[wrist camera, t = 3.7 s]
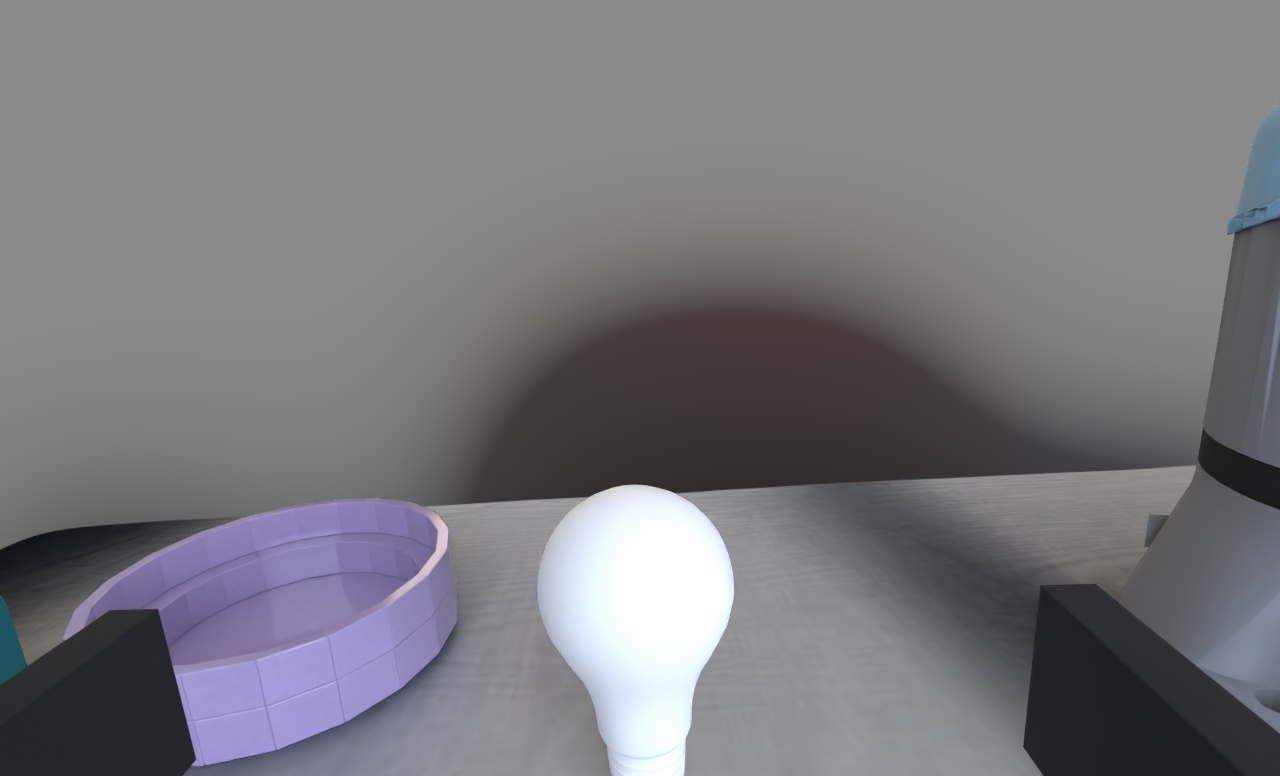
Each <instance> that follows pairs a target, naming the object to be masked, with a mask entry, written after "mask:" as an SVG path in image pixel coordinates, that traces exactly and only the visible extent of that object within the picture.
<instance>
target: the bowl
mask: <svg viewBox="0 0 1280 776" xmlns="http://www.w3.org/2000/svg"><path fill="white" fill-rule="evenodd" d="M458 600H459V594H458V587H457V579H456V572H455V565H454V558H453V550H452V543H451V536H450V530H449V527H448V526H447V525H446V524H445V522H444V521H443V520H442V519H441V517H440V516H439V515H438V514H437V513H436V512H435V511H432V510H430V509H427V508H425V507H423V506H420V505H418V504H415V503H412V502H406V501H399V500H391V499H384V498H367V499H366V498H364V499H336V500H329V501H322V502H315V503H308V504H300V505H295V506H290V507H286V508H282V509H278V510H273V511H269V512H265V513H261V514H257V515H252V516H248V517H244V518H241V519H238V520H235V521H232V522H229V523H226V524H223V525H221V526H218V527H215V528H212V529H209V530H206V531H203V532H200V533H198V534H195V535H193V536H190V537H188V538H186V539H184V540H181V541H179V542H177V543H175V544H172V545H170V546H168V547H166V548H164V549H161V550H159V551H157V552H155V553H152V554H150V555H148V556H147V557H145V558H143V559H142V560H140V561H138V562H137V563H135V564H133V565H132V566H130V567H129V568H127V569H125V570H124V571H122V572H120V573H119V574H117V575H115V576H114V577H112V578H110V579H109V580H107V581H105V582H104V583H103V584H102V585H101V586H100V587H99V588H98V589H97V590H96V591H95V592H94V593H92V594H91V595H90V596H89V597H88V598H87V599H86V600H85V601H84V602H83V603H82V604H81V605H79V606H78V607H77V608H76V609H75V611H74V613H73V615H72V618H71V620H70V622H69V624H68V627H67V629H66V631H65V634H64V636H63V642H64V641H65V640H67V639H68V638H70V637H71V636H73V635H74V634H76V633H77V632H78V631H80V630H81V629H83V628H84V627H86V626H87V625H89V624H90V623H92V622H93V621H95V620H96V619H97V618H99V617H100V616H102V615H103V614H105V613H106V612H108V611H109V610H130V609H158V610H159V614H160V618H161V622H162V626H163V630H164V634H165V638H166V642H167V646H168V649H169V653H170V657H171V661H172V665H173V669H174V673H175V677H176V681H177V685H178V689H179V693H180V697H181V701H182V705H183V709H184V712H185V716H186V720H187V724H188V728H189V732H190V736H191V740H192V744H193V748H194V752H195V756H196V761H195V762H194V763H193V764H192V765H191V766H204V765H211V764H216V763H220V762H225V761H230V760H234V759H239V758H243V757H248V756H253V755H257V754H262V753H266V752H271V751H274V750H276V749H277V750H279V749H281V748H284V747H286V746H288V745H291V744H293V743H296V742H298V741H301V740H303V739H306V738H308V737H311V736H313V735H316V734H318V733H321V732H323V731H326V730H328V729H330V728H333V727H335V726H338V725H340V724H343V723H344V722H347V721H349V720H350V719H352V718H354V717H355V716H357V715H359V714H360V713H362V712H363V711H365V710H367V709H368V708H370V707H372V706H373V705H375V704H376V703H378V702H380V701H381V700H383V699H385V698H386V697H388V696H389V695H391V694H393V693H394V692H396V691H398V690H399V689H400V688H402V687H403V686H405V685H406V684H407V683H408V682H409V681H410V680H411V679H412V678H413V677H414V676H415V675H416V674H417V673H418V672H419V671H421V670H422V669H423V668H424V667H425V666H426V665H427V664H428V663H429V662H430V661H431V660H432V659H433V658H434V657H435V656H437V655H438V653H439V652H440V650H441V649H442V647H443V645H444V643H445V642H446V640H447V638H448V636H449V635H450V633H451V631H452V630H453V628H454V626H455V624H456V623H457V620H458Z"/></svg>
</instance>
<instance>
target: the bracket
mask: <svg viewBox="0 0 1280 776" xmlns="http://www.w3.org/2000/svg"><path fill="white" fill-rule="evenodd" d="M26 667H27V664H26V661H25V658H24V655H23V652H22V649H21V646H20V643H19V640H18V637H17V634H16V631H15V628H14V625H13V622H12V619H11V616H10V613H9V610H8V608H7V605H6V603H5V601H4V600H3V598H2V597H1V595H0V685H1V684H2V683H4V682H5V681H7V680H8V679H10V678H11V677H13V676H14V675H16V674H17V673H18V672H20V671H21V670H23V669H24V668H26Z"/></svg>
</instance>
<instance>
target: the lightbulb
mask: <svg viewBox="0 0 1280 776" xmlns="http://www.w3.org/2000/svg"><path fill="white" fill-rule="evenodd" d="M733 597H734V578H733V571H732V566H731V562H730V558H729V554H728V551H727V549H726V547H725V544H724V542H723V540H722V538H721V536H720V534H719V532H718V531H717V529H716V528H715V527H714V525H713V524H712V523H711V521H710V520H709V519H708V518H707V517H706V516H705V515H704V514H703V513H702V512H701V511H700V510H699V509H698V508H697V507H695V506H694V505H693V504H692V503H691V502H689V501H688V500H686V499H684V498H682V497H680V496H678V495H676V494H674V493H672V492H669V491H667V490H664V489H660V488H655V487H651V486H645V485H625V486H619V487H614V488H610V489H608V490H605V491H602V492H600V493H597V494H595V495H593V496H591V497H589V498H587V499H586V500H584V501H583V502H581V503H580V504H578V505H577V506H576V507H574V508H573V509H572V510H570V511H569V513H568V514H567V515H566V516H565V517H564V519H563V520H562V521H561V522H560V523H559V525H558V526H557V527H556V528H555V530H554V532H553V533H552V535H551V537H550V539H549V540H548V542H547V544H546V547H545V549H544V552H543V555H542V558H541V562H540V565H539V572H538V581H537V598H538V607H539V611H540V614H541V617H542V620H543V623H544V625H545V628H546V631H547V633H548V636H549V638H550V640H551V641H552V642H553V644H554V645H555V647H556V648H557V649H558V651H559V652H560V654H561V655H562V656H563V658H564V659H565V661H566V662H567V663H568V665H569V666H570V667H571V669H572V670H573V671H574V672H575V673H576V674H577V675H578V676H579V677H580V679H581V680H582V681H583V683H584V685H585V686H586V688H587V690H588V692H589V694H590V696H591V699H592V702H593V705H594V708H595V713H596V719H597V725H598V730H599V732H600V735H601V737H602V739H603V740H604V742H605V743H606V745H607V755H608V759H609V767H610V770H611V776H684V768H685V744H686V743H685V738H686V736H687V734H688V732H689V729H690V725H691V719H692V700H693V694H694V689H695V685H696V682H697V680H698V677H699V675H700V672H701V670H702V669H703V667H704V666H705V664H706V663H707V661H708V660H709V658H710V656H711V655H712V653H713V651H714V649H715V648H716V646H717V644H718V642H719V640H720V638H721V636H722V634H723V632H724V630H725V629H726V627H727V624H728V620H729V616H730V611H731V607H732V602H733Z"/></svg>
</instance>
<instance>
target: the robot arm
mask: <svg viewBox="0 0 1280 776" xmlns="http://www.w3.org/2000/svg"><path fill="white" fill-rule="evenodd" d="M1233 233H1235V235H1234V242H1233V248H1232V255H1231V261H1230V267H1229V274H1228V280H1227V287H1226V293H1225V299H1224V306H1223V312H1222V318H1221V325H1220V332H1219V338H1218V343H1217V349H1216V355H1215V360H1214V366H1213V371H1212V377H1211V383H1210V389H1209V394H1208V400H1207V405H1206V411H1205V416H1204V422H1203V432H1202V438H1201V444H1200V450H1199V456H1198V461H1197V466H1196V471H1195V474H1194V477H1193V479H1192V482H1191V484H1190V485H1189V487H1188V488H1187V490H1186V491H1185V493H1184V494H1183V496H1182V497H1181V499H1180V501H1179V502H1178V504H1177V505H1176V507H1175V508H1174V510H1173V511H1172V513H1171V514H1170V516H1167V515H1153V514H1149V520H1148V527H1147V533H1146V540H1145V547H1149V548H1148V549H1147V551H1146V552H1145V554H1144V555H1143V557H1142V558H1141V560H1140V562H1139V563H1138V565H1137V566H1136V568H1135V569H1134V571H1133V572H1132V574H1131V575H1130V577H1129V578H1128V580H1127V582H1126V584H1125V585H1124V587H1123V589H1122V590H1121V594H1120V597H1119V603H1118V602H1117V601H1116V600H1115V599H1113V598H1112V597H1111V596H1110V595H1108V594H1107V593H1106V592H1105V591H1103V590H1102V589H1101V588H1100V587H1099V586H1097V585H1096V584H1079V585H1041V586H1040V596H1039V605H1038V614H1037V624H1036V633H1035V642H1034V651H1033V661H1032V670H1031V679H1030V689H1029V698H1028V707H1027V717H1026V726H1025V735H1024V745H1023V747H1024V749H1025V750H1026V751H1027V753H1028V754H1029V756H1030V757H1031V759H1032V760H1033V761H1034V763H1035V764H1036V766H1037V767H1038V769H1039V770H1040V771H1041V773H1042V774H1043V776H1280V101H1279V102H1278V103H1277V104H1276V105H1275V106H1274V107H1273V108H1272V109H1271V110H1270V112H1269V113H1268V114H1267V115H1266V117H1265V118H1264V120H1263V121H1262V123H1261V124H1260V126H1259V128H1258V130H1257V133H1256V136H1255V139H1254V142H1253V147H1252V151H1251V155H1250V160H1249V164H1248V168H1247V172H1246V176H1245V180H1244V185H1243V189H1242V193H1241V197H1240V201H1239V206H1238V210H1237V214H1236V216H1235V217H1234V218H1232V219H1231V220H1230V221H1229V223H1228V235H1229V234H1233ZM195 761H196V756H195V752H194V748H193V744H192V740H191V736H190V732H189V728H188V724H187V720H186V716H185V712H184V709H183V705H182V701H181V697H180V693H179V689H178V685H177V681H176V677H175V673H174V669H173V665H172V661H171V657H170V653H169V649H168V646H167V642H166V638H165V634H164V630H163V626H162V622H161V618H160V614H159V610H158V609H130V610H109V611H108V612H106V613H105V614H103V615H102V616H100V617H99V618H97V619H96V620H95V621H93V622H92V623H90V624H89V625H87V626H86V627H84V628H83V629H81V630H80V631H78V632H77V633H76V634H74V635H73V636H71V637H70V638H68V639H67V640H65V641H64V642H62V643H61V644H59V645H58V646H57V647H55V648H54V649H52V650H51V651H49V652H48V653H46V654H45V655H43V656H42V657H40V658H39V659H37V660H36V661H35V662H33V663H32V664H30V665H29V666H27V667H26V668H24V669H23V670H21V671H20V672H18V673H17V674H16V675H14V676H13V677H11V678H10V679H8V680H7V681H5V682H4V683H2V684H1V685H0V776H182V775H183V774H184V773H185V772H186V771H187V770H188V769H189V768H190V766H191V765H192V764H193V763H194V762H195Z"/></svg>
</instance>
